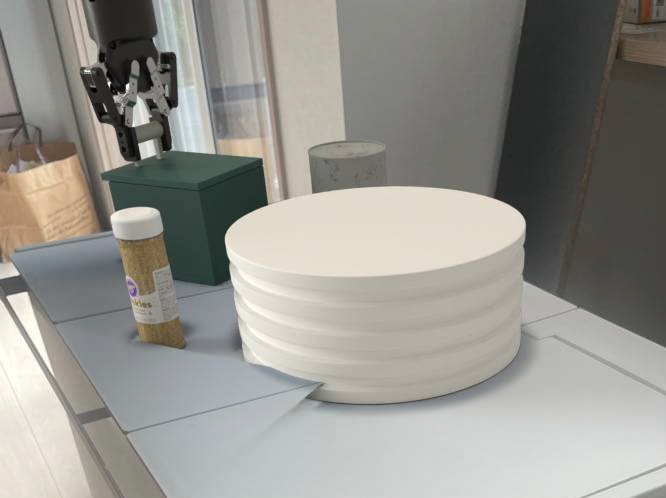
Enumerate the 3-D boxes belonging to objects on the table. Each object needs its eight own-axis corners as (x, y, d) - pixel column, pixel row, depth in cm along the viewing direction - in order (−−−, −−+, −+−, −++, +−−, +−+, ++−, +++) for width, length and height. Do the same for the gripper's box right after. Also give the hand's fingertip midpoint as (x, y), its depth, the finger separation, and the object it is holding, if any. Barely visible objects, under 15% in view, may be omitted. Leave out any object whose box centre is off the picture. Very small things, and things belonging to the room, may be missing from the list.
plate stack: (578, 352, 81) (590, 231, 74) (322, 435, 70) (307, 302, 63) (423, 274, 101) (420, 172, 94) (202, 329, 89) (181, 218, 83)
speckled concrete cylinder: (305, 260, 107) (294, 156, 99) (334, 237, 114) (325, 138, 106) (376, 265, 104) (370, 159, 97) (400, 241, 111) (396, 141, 104)
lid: (101, 180, 99) (90, 134, 96) (170, 156, 108) (162, 114, 105) (199, 190, 94) (190, 142, 91) (263, 164, 103) (257, 120, 100)
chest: (129, 272, 105) (107, 181, 99) (192, 242, 114) (176, 157, 108) (215, 286, 100) (199, 191, 94) (275, 254, 109) (263, 165, 103)
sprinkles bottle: (132, 352, 85) (98, 215, 77) (163, 335, 89) (134, 203, 81) (166, 360, 84) (134, 221, 76) (196, 343, 87) (169, 208, 79)
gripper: (133, -16, 98) (163, 141, 108) (40, -6, 88) (82, 166, 98) (183, -17, 95) (209, 145, 106) (93, -6, 85) (131, 171, 95)
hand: (148, 154), depth 102 cm, fingers closed on lid, 5 cm apart
